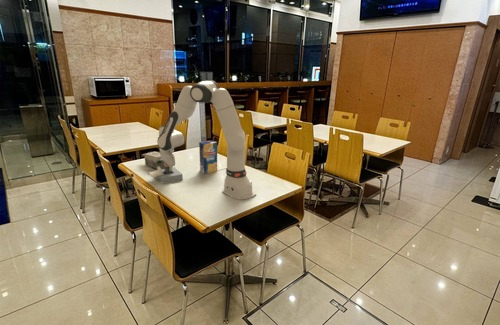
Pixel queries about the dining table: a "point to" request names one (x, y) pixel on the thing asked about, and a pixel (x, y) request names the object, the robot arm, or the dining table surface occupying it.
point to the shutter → (156, 172)
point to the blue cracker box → (208, 156)
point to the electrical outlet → (154, 160)
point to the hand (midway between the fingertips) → (168, 168)
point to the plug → (167, 169)
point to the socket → (170, 176)
